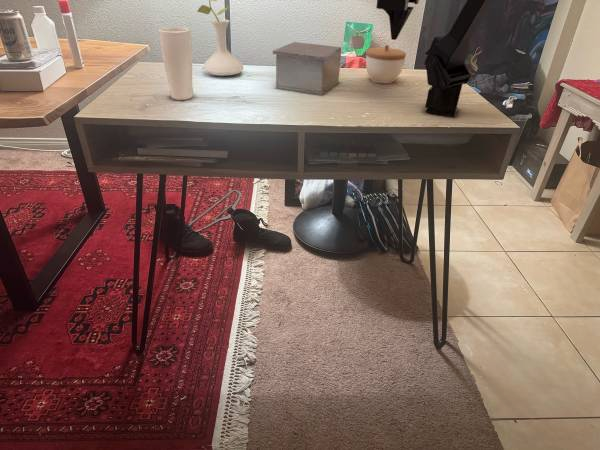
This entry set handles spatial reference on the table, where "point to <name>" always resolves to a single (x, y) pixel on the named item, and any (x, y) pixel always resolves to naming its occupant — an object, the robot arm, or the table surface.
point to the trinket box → (384, 64)
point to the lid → (307, 51)
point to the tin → (307, 73)
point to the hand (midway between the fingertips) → (393, 39)
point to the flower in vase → (220, 49)
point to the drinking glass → (177, 60)
